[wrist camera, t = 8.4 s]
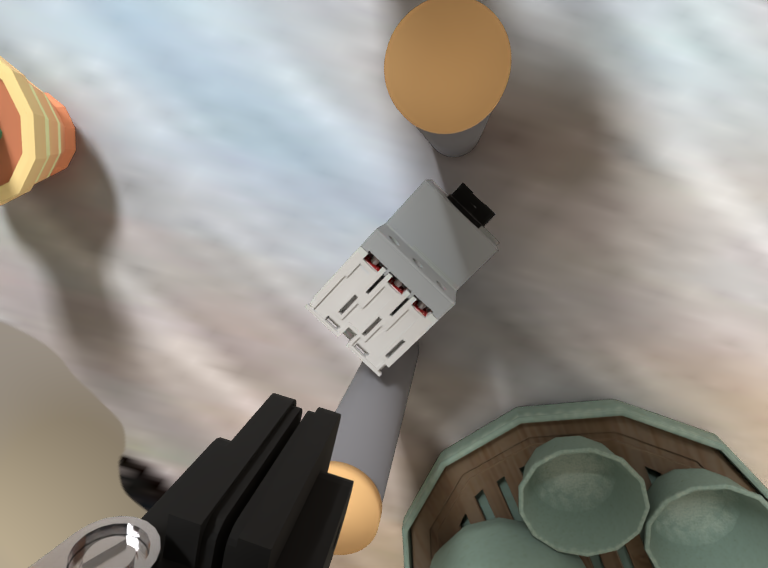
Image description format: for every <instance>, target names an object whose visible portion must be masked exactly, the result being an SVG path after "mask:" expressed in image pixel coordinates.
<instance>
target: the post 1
mask: <svg viewBox="0 0 768 568" xmlns="http://www.w3.org/2000/svg"><path fill="white" fill-rule="evenodd" d="M418 354H419V345H418V342H417V341H416V342H415V343H414V344H413V345H412V346H411V347H410V348H409V349H408V350H407V351H406V352H405V353H404V354H402V355H401V356H400V357H399V358H398V359H397V360H396V361H395V362H394V363H393V364H392V365H391V366H390V367H388V366H387V365H386V366H384V367H383V368H382V369H381V370H380V369H379V370H380V371H381V372H382V374H381V375H380V376H378V375H377V374H376V373H375V372H373V371H372V370H371V369H370V368H369V367H368V366H367V365H366V364H365V363H364V362H363V361H362V363H361V365H360V367H359V369H358V371H357V372H356V374H355V376H354V378H353V380H352V382H351V384H350V385H349V387H348V389H347V391H346V393H345V395H344V396H343V398H342V400H341V402H340V404H339V406H338V408H337V409H336V411H335V412H336V413H339V414H341V419H340V424H339V428H338V432H337V436H336V440H335V444H334V449H333V453H332V457H331V461H330V465H329V469H328V473H331V474H334V475H337V476H340V477H343V478H346V479H349V480H352V481H354V484H353V488H352V492H351V496H350V500H349V504H348V507H347V511H346V515H345V518H344V522H343V525H342V529H341V532H340V535H339V538H338V542H337V545H336V548H335V551H334V555H346V554H352V553H355V552H358V551H360V550H362V549H363V548H365V547H366V546H367V545H369V544H370V543H371V541H372V540H373V539H374V537H375V535H376V533H377V530H378V526H379V522H380V518H381V513H382V502H383V498H384V494H385V490H386V485H387V481H388V477H389V473H390V469H391V465H392V461H393V457H394V453H395V449H396V444H397V440H398V436H399V432H400V428H401V424H402V420H403V416H404V412H405V407H406V403H407V399H408V395H409V391H410V387H411V383H412V379H413V375H414V370H415V366H416V362H417V358H418Z"/></svg>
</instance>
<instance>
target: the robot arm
mask: <svg viewBox="0 0 768 568" xmlns="http://www.w3.org/2000/svg"><path fill="white" fill-rule="evenodd" d="M301 416H302V408H299V407H296V400H295V399H291V398H288V397H285V396H282V395H279V394H275V393H273V394H272V395H271V396H270V397H269V398H268V399H267V400H266V402H265V403H264V404H263V405H262V406H261V407H260V408H259V410H258V411H257V412H256V413H255V414H254V415H253V417H252V418H251V419H250V420H249V421H248V422H247V423H246V425H245V426H244V427H243V428H242V429H241V430H240V432H239V433H238V434H237V435H236V436H235V437H234V439H233V440H232V441H230V440H227V439H224V438H221V437H220V438H217V439H216V440H215V441H213V442H212V443H211V444H210V445H209V446H208V448H207V449H206V450H205V451H204V452H203V453H202V454H201V455H200V456H199V457H198V458H197V459H196V460H195V462H194V463H193V464H192V465H191V466H190V467H189V468H188V469H187V470H186V471H185V472H184V473H183V474H182V475H181V477H180V478H179V479H178V480H177V481H176V482H175V483H174V484H173V485H172V486H171V487H170V488H169V489H168V491H167V492H166V493H165V494H164V495H163V496H162V497H161V498H160V499H159V500H158V501H157V502H156V503H155V504H154V506H153V507H152V508H151V509H150V510H149V511H148V512H147V513H146V514H145V515H144V516H143V517H142V519H139V518H136V517H126V516H118V517H111V518H106V519H102V520H99V521H97V522H94V523H91V524H89V525H87V526H86V527H84V528H82V529H81V530H79V531H77V532H76V533H74V534H73V535H71V536H70V537H69V538H67V539H66V540H65V541H63V542H62V543H61V544H59V545H58V546H57V547H55V548H54V549H53V550H51V551H50V552H49V553H47V554H46V555H45V556H43V557H42V558H41V559H39V560H38V561H37V562H35V563H34V564H33V565H31V566H30V567H29V568H329V566H330V563H331V560H332V557H333V554H334V551H335V548H336V545H337V542H338V538H339V535H340V532H341V529H342V525H343V522H344V518H345V515H346V511H347V507H348V504H349V500H350V496H351V492H352V488H353V484H354V481H352V480H349V479H346V478H343V477H340V476H337V475H334V474H331V473H328V469H329V465H330V461H331V457H332V453H333V449H334V444H335V440H336V436H337V432H338V428H339V424H340V419H341V414H339V413H336V412H333V411H330V410H327V409H323V408H320V407H319V408H318V409H317V410H316V412H312V411H307V413H306V414H305V416H304V417H303V419H302V420H301ZM300 421H301V422H300Z"/></svg>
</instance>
